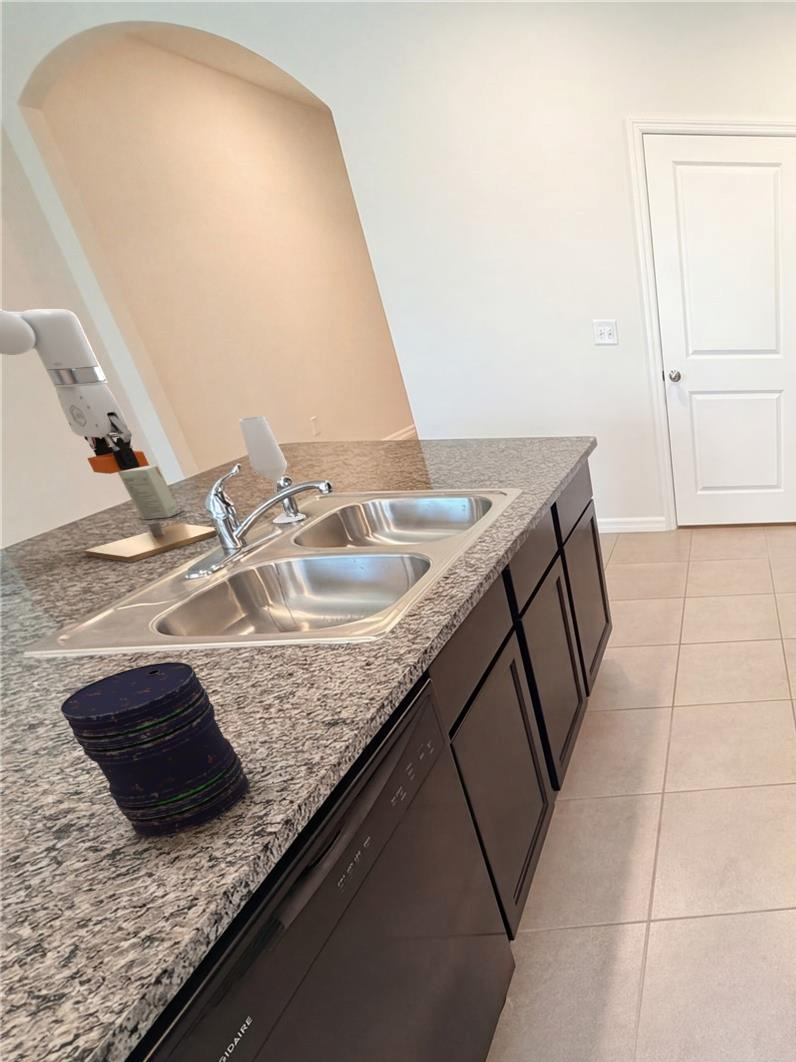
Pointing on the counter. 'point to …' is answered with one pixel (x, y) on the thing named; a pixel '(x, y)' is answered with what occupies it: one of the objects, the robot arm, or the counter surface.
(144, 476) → the cosmetic box
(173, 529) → the base pad
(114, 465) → the orange block
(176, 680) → the stacked disc cylinder
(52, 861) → the counter surface
